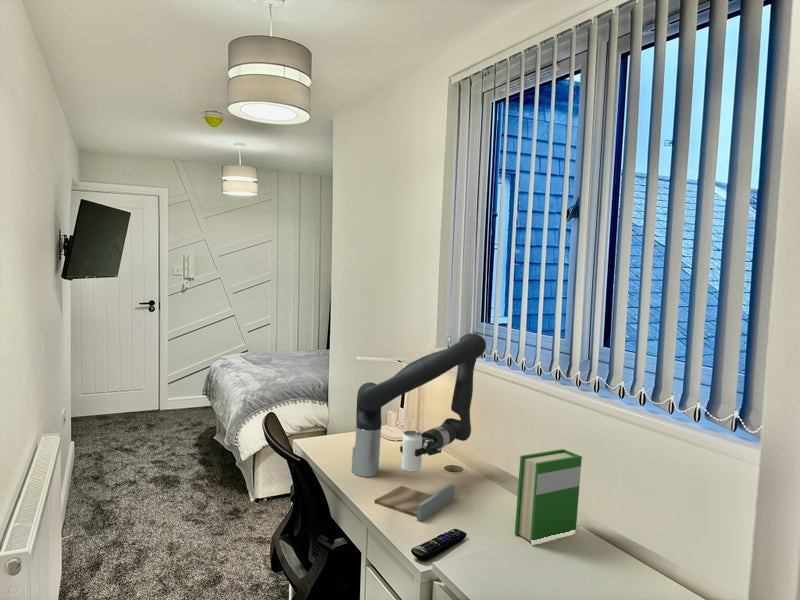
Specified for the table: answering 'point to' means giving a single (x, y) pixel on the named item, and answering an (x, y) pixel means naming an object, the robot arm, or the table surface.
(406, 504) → the walnut board
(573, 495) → the hardback book
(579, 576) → the table surface
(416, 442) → the can
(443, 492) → the low wall
